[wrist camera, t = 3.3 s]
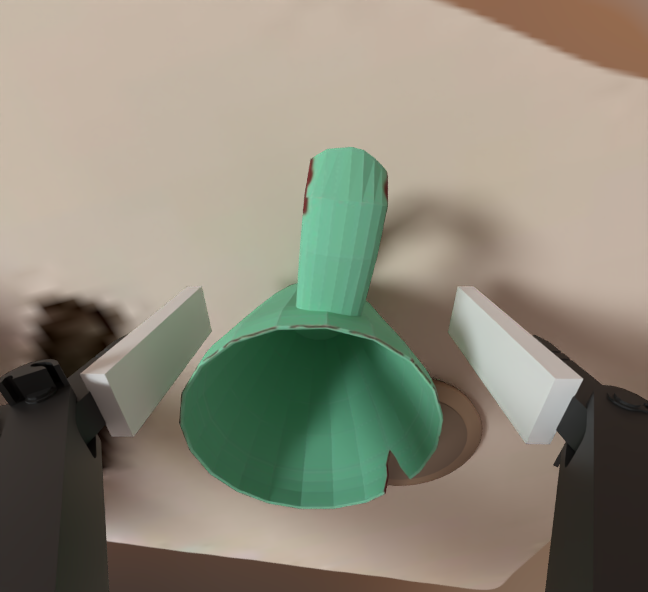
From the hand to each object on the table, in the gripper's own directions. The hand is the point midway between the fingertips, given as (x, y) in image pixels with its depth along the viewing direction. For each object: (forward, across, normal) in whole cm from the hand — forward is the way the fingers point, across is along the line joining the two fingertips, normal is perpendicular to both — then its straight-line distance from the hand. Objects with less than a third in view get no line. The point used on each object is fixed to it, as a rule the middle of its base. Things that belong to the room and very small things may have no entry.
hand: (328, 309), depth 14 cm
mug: (+5, 0, 0) cm, 5 cm away
